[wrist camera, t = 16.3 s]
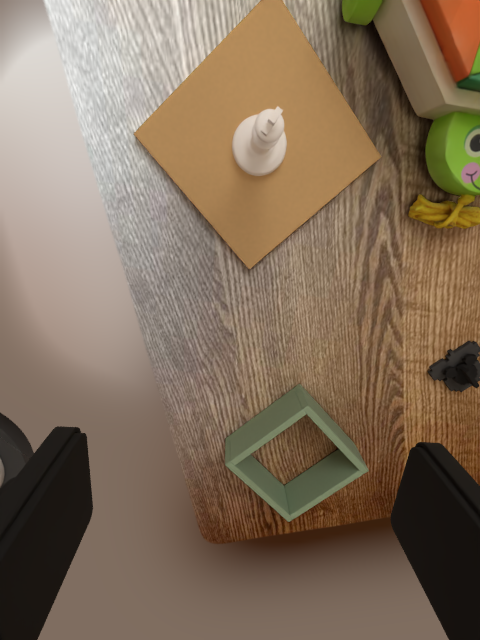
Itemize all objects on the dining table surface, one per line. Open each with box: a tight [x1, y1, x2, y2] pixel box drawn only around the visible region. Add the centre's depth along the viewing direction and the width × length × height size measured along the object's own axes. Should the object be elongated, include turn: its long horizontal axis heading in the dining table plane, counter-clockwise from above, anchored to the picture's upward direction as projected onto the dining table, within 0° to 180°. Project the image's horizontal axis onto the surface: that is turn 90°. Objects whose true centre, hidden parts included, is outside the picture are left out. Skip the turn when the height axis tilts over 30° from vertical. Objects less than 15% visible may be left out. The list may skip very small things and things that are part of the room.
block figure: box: [428, 341, 480, 392], centre depth 37 cm, size 6×2×6 cm
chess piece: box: [232, 106, 287, 176], centre depth 25 cm, size 5×5×10 cm
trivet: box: [134, 0, 381, 269], centre depth 30 cm, size 16×16×1 cm
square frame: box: [225, 384, 369, 522], centre depth 39 cm, size 12×12×4 cm
